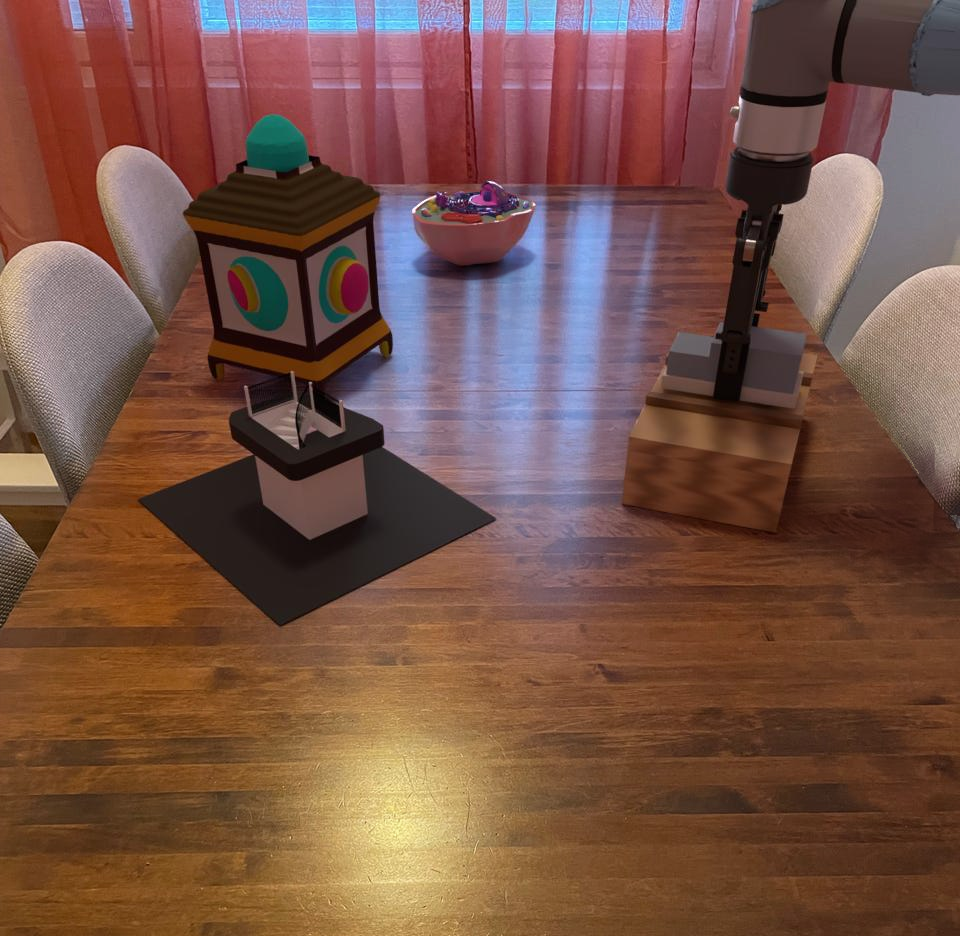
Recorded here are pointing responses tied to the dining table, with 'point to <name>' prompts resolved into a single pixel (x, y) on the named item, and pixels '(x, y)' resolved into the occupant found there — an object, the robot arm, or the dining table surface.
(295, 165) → the decorative lantern
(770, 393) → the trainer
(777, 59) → the robot arm
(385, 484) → the black-topped pedestal
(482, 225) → the cell model
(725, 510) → the stepped wooden block
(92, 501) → the dining table surface
